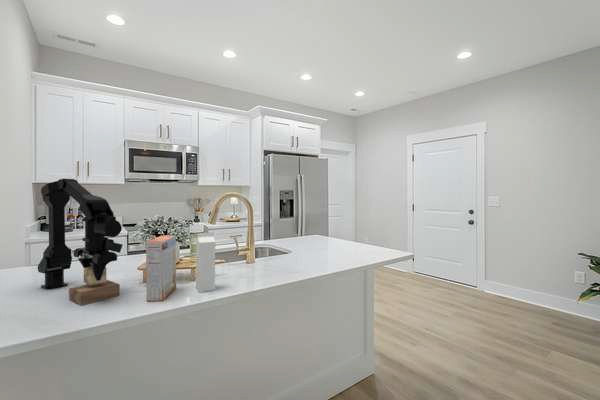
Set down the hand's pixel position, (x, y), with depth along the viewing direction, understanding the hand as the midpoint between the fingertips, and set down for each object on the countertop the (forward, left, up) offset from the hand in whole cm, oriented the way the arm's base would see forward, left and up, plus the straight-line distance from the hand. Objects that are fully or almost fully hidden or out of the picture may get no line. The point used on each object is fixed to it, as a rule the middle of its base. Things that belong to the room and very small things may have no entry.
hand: (94, 279), depth 103 cm
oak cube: (0, 0, -1) cm, 1 cm away
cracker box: (+16, +15, -7) cm, 23 cm away
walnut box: (0, 0, -6) cm, 7 cm away
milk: (+24, +28, -7) cm, 38 cm away
